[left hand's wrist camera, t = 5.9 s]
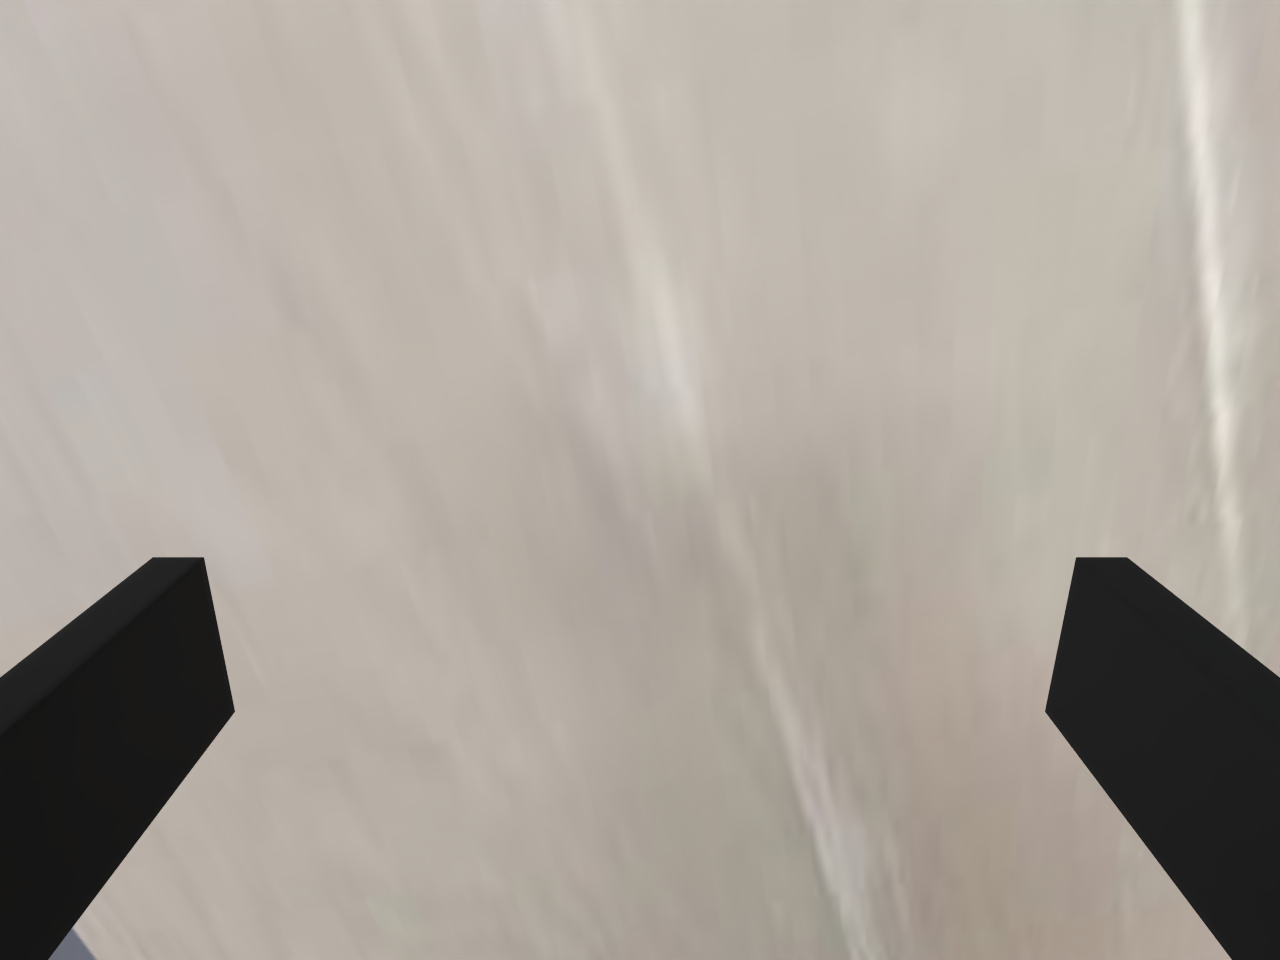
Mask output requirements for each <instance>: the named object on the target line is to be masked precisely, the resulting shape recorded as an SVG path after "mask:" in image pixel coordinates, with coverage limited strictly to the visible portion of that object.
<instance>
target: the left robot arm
mask: <svg viewBox="0 0 1280 960" xmlns="http://www.w3.org/2000/svg"><path fill="white" fill-rule="evenodd" d="M234 712H235V710H234V705H233V700H232V695H231V690H230V685H229V680H228V675H227V670H226V665H225V660H224V655H223V650H222V645H221V640H220V635H219V630H218V625H217V620H216V615H215V610H214V605H213V600H212V596H211V591H210V586H209V581H208V576H207V571H206V566H205V561H204V557H153V558H152V559H150V560H149V561H148V562H147V563H145V564H144V565H143V566H141V567H140V568H139V569H138V570H136V571H135V572H134V573H133V574H131V575H130V576H129V577H127V578H126V579H125V580H124V581H122V582H121V583H120V584H119V585H117V586H116V587H115V588H113V589H112V590H111V591H110V592H108V593H107V594H106V595H105V596H103V597H102V598H101V599H100V600H98V601H97V602H96V603H94V604H93V605H92V606H91V607H89V608H88V609H87V610H86V611H84V612H83V613H82V614H80V615H79V616H78V617H77V618H75V619H74V620H73V621H72V622H70V623H69V624H68V625H67V626H65V627H64V628H63V629H61V630H60V631H59V632H58V633H56V634H55V635H54V636H53V637H51V638H50V639H49V640H47V641H46V642H45V643H44V644H42V645H41V646H40V647H39V648H37V649H36V650H35V651H33V652H32V653H31V654H30V655H28V656H27V657H26V658H25V659H23V660H22V661H21V662H20V663H18V664H17V665H16V666H14V667H13V668H12V669H11V670H9V671H8V672H7V673H6V674H4V675H3V676H2V677H0V960H48V959H49V958H50V956H51V955H52V954H53V952H54V951H55V950H56V948H57V947H58V946H59V944H60V943H61V942H62V940H63V939H64V938H65V936H66V935H67V934H68V932H69V931H70V930H71V928H72V927H73V926H74V924H75V923H76V922H77V920H78V919H79V918H80V916H81V915H82V914H83V913H84V911H85V910H86V909H87V907H88V906H89V905H90V903H91V902H92V901H93V899H94V898H95V897H96V895H97V894H98V893H99V891H100V890H101V889H102V887H103V886H104V885H105V883H106V882H107V881H108V879H109V878H110V877H111V875H112V874H113V873H114V871H115V870H116V869H117V867H118V866H119V865H120V863H121V862H122V861H123V859H124V858H125V857H126V855H127V854H128V853H129V851H130V850H131V849H132V847H133V846H134V845H135V843H136V842H137V841H138V840H139V838H140V837H141V836H142V834H143V833H144V832H145V830H146V829H147V828H148V826H149V825H150V824H151V822H152V821H153V820H154V818H155V817H156V816H157V814H158V813H159V812H160V810H161V809H162V808H163V806H164V805H165V804H166V802H167V801H168V800H169V798H170V797H171V796H172V794H173V793H174V792H175V790H176V789H177V788H178V786H179V785H180V784H181V782H182V781H183V780H184V778H185V777H186V776H187V774H188V773H189V772H190V771H191V769H192V768H193V767H194V765H195V764H196V763H197V761H198V760H199V759H200V757H201V756H202V755H203V753H204V752H205V751H206V749H207V748H208V747H209V745H210V744H211V743H212V741H213V740H214V739H215V737H216V736H217V735H218V733H219V732H220V731H221V729H222V728H223V727H224V725H225V724H226V723H227V721H228V720H229V719H230V717H231V716H232V715H233V713H234ZM1045 712H1046V713H1047V715H1048V716H1049V717H1050V719H1051V720H1052V721H1053V723H1054V724H1055V725H1056V727H1057V728H1058V729H1059V731H1060V732H1061V733H1062V735H1063V736H1064V737H1065V739H1066V740H1067V741H1068V743H1069V744H1070V745H1071V747H1072V748H1073V749H1074V751H1075V752H1076V753H1077V755H1078V756H1079V757H1080V759H1081V760H1082V761H1083V763H1084V764H1085V765H1086V767H1087V768H1088V769H1089V771H1090V772H1091V773H1092V774H1093V776H1094V777H1095V778H1096V780H1097V781H1098V782H1099V784H1100V785H1101V786H1102V788H1103V789H1104V790H1105V792H1106V793H1107V794H1108V796H1109V797H1110V798H1111V800H1112V801H1113V802H1114V804H1115V805H1116V806H1117V808H1118V809H1119V810H1120V812H1121V813H1122V814H1123V816H1124V817H1125V818H1126V820H1127V821H1128V822H1129V824H1130V825H1131V826H1132V828H1133V829H1134V830H1135V832H1136V833H1137V834H1138V836H1139V837H1140V838H1141V840H1142V841H1143V842H1144V843H1145V845H1146V846H1147V847H1148V849H1149V850H1150V851H1151V853H1152V854H1153V855H1154V857H1155V858H1156V859H1157V861H1158V862H1159V863H1160V865H1161V866H1162V867H1163V869H1164V870H1165V871H1166V873H1167V874H1168V875H1169V877H1170V878H1171V879H1172V881H1173V882H1174V883H1175V885H1176V886H1177V887H1178V889H1179V890H1180V891H1181V893H1182V894H1183V895H1184V897H1185V898H1186V899H1187V901H1188V902H1189V903H1190V905H1191V906H1192V907H1193V909H1194V910H1195V911H1196V913H1197V914H1198V915H1199V916H1200V918H1201V919H1202V920H1203V922H1204V923H1205V924H1206V926H1207V927H1208V928H1209V930H1210V931H1211V932H1212V934H1213V935H1214V936H1215V938H1216V939H1217V940H1218V942H1219V943H1220V944H1221V946H1222V947H1223V948H1224V950H1225V951H1226V952H1227V954H1228V955H1229V956H1230V958H1231V959H1232V960H1280V677H1278V676H1277V675H1276V674H1274V673H1273V672H1272V671H1271V670H1269V669H1268V668H1267V667H1266V666H1264V665H1263V664H1262V663H1260V662H1259V661H1258V660H1257V659H1255V658H1254V657H1253V656H1252V655H1250V654H1249V653H1248V652H1247V651H1245V650H1244V649H1243V648H1241V647H1240V646H1239V645H1238V644H1236V643H1235V642H1234V641H1233V640H1231V639H1230V638H1229V637H1227V636H1226V635H1225V634H1224V633H1222V632H1221V631H1220V630H1219V629H1217V628H1216V627H1215V626H1213V625H1212V624H1211V623H1210V622H1208V621H1207V620H1206V619H1205V618H1203V617H1202V616H1201V615H1200V614H1198V613H1197V612H1196V611H1194V610H1193V609H1192V608H1191V607H1189V606H1188V605H1187V604H1186V603H1184V602H1183V601H1182V600H1180V599H1179V598H1178V597H1177V596H1175V595H1174V594H1173V593H1172V592H1170V591H1169V590H1168V589H1167V588H1165V587H1164V586H1163V585H1161V584H1160V583H1159V582H1158V581H1156V580H1155V579H1154V578H1153V577H1151V576H1150V575H1149V574H1147V573H1146V572H1145V571H1144V570H1142V569H1141V568H1140V567H1139V566H1137V565H1136V564H1135V563H1133V562H1132V561H1131V560H1130V559H1128V558H1127V557H1076V561H1075V566H1074V571H1073V576H1072V581H1071V586H1070V591H1069V596H1068V600H1067V605H1066V610H1065V615H1064V620H1063V625H1062V630H1061V635H1060V640H1059V645H1058V650H1057V655H1056V660H1055V665H1054V670H1053V675H1052V680H1051V685H1050V690H1049V695H1048V700H1047V705H1046V710H1045Z"/></svg>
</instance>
